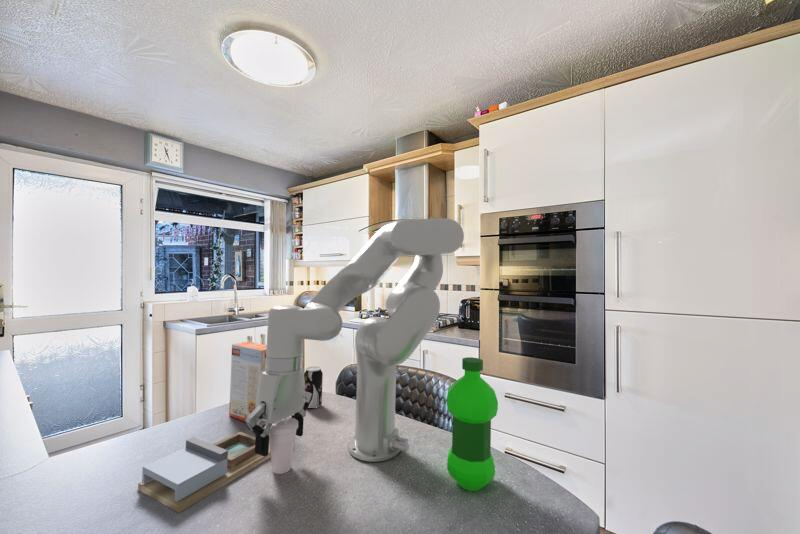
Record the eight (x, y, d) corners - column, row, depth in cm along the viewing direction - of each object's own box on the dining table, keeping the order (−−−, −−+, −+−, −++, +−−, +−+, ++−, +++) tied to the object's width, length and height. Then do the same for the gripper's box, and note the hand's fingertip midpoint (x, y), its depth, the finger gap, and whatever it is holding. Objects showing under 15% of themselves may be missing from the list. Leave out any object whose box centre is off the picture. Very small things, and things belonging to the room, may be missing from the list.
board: (280, 451, 78) (281, 438, 78) (178, 512, 58) (179, 495, 58) (242, 437, 84) (243, 425, 84) (138, 489, 63) (138, 473, 63)
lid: (227, 473, 67) (227, 450, 67) (177, 501, 58) (178, 475, 58) (192, 458, 72) (193, 437, 72) (142, 482, 63) (143, 458, 63)
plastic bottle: (465, 505, 61) (468, 369, 62) (435, 474, 71) (438, 356, 71) (507, 491, 65) (509, 364, 66) (473, 463, 75) (475, 352, 76)
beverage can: (319, 410, 102) (320, 371, 102) (300, 410, 102) (301, 370, 102) (323, 403, 108) (324, 365, 108) (305, 402, 108) (307, 365, 108)
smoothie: (287, 480, 67) (289, 410, 68) (258, 475, 69) (261, 407, 69) (302, 462, 74) (304, 399, 74) (276, 458, 75) (278, 396, 75)
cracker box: (277, 420, 94) (279, 346, 95) (258, 428, 89) (260, 350, 90) (247, 409, 102) (249, 340, 102) (228, 415, 96) (230, 343, 97)
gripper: (299, 353, 81) (296, 424, 80) (237, 369, 66) (232, 457, 65) (324, 357, 78) (320, 432, 77) (264, 376, 62) (259, 469, 62)
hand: (280, 443), depth 71 cm, fingers open, 9 cm apart
